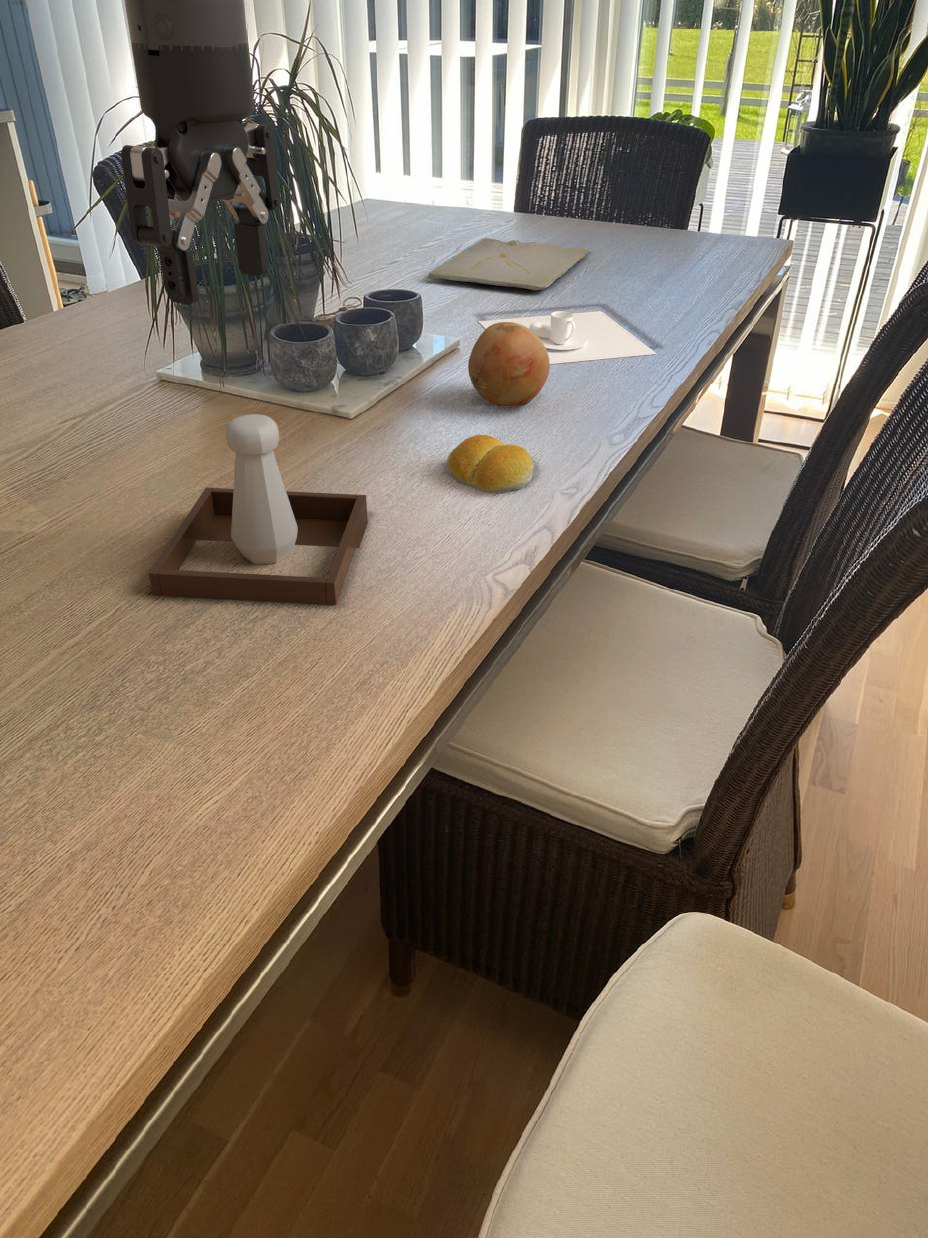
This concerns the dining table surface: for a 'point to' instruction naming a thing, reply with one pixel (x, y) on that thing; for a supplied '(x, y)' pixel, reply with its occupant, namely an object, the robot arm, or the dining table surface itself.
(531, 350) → the onion
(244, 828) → the dining table surface
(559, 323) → the teacup and saucer
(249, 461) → the salt shaker
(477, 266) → the decorative slab
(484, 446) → the bread roll
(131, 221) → the robot arm
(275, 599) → the tray
